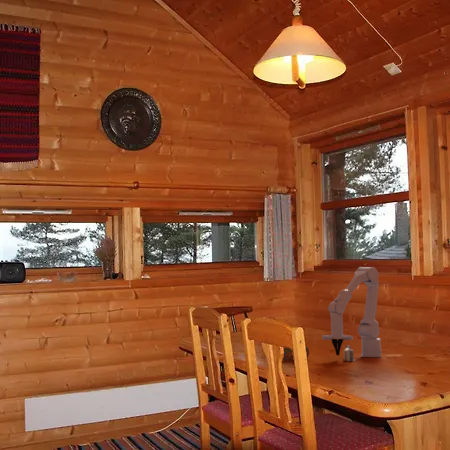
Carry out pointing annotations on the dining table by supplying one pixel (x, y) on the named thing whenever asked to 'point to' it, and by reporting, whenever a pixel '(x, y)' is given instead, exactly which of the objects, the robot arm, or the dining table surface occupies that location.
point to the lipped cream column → (346, 354)
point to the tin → (289, 355)
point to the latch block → (351, 355)
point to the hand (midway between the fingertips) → (337, 355)
